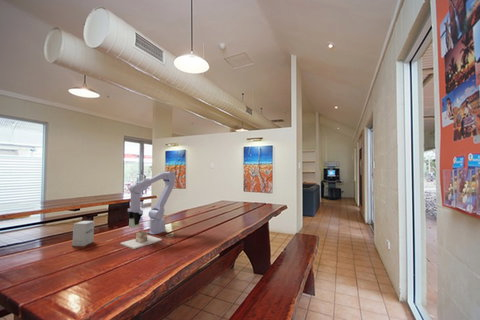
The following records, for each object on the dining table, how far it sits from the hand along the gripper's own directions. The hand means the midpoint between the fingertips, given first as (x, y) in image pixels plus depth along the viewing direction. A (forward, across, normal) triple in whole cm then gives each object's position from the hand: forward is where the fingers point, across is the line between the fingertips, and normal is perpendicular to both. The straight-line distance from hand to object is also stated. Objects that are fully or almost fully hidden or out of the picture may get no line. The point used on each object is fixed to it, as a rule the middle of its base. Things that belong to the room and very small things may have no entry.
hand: (134, 224), depth 135 cm
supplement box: (+9, -13, -23) cm, 28 cm away
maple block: (+8, +12, -2) cm, 14 cm away
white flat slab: (+9, +12, -2) cm, 15 cm away
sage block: (+2, 0, 0) cm, 2 cm away
